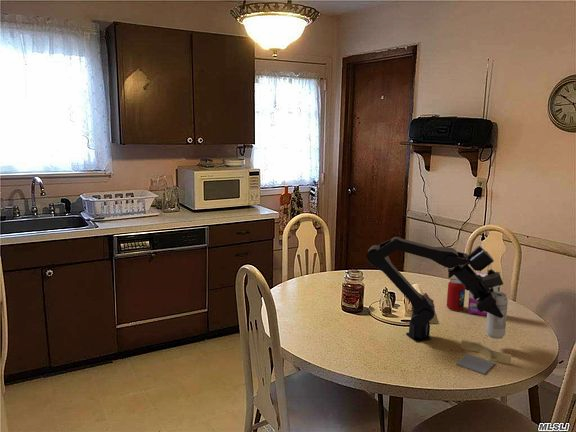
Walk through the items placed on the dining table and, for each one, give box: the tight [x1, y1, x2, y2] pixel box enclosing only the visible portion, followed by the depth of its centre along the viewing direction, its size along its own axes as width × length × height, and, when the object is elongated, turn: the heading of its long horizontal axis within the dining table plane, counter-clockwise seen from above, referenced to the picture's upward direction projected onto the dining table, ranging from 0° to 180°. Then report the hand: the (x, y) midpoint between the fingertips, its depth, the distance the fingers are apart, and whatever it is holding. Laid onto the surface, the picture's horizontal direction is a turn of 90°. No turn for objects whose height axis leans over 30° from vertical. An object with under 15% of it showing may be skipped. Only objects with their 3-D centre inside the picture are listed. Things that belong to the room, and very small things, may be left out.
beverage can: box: [446, 278, 466, 312], centre depth 196 cm, size 7×7×12 cm
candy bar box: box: [467, 272, 501, 317], centre depth 191 cm, size 11×5×16 cm, turn 68°
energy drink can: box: [485, 291, 509, 340], centre depth 161 cm, size 6×6×15 cm
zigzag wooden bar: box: [460, 339, 512, 366], centre depth 158 cm, size 16×4×3 cm, turn 48°
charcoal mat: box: [455, 353, 496, 376], centre depth 152 cm, size 9×9×1 cm
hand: (501, 313), depth 161 cm, fingers closed on energy drink can, 6 cm apart
